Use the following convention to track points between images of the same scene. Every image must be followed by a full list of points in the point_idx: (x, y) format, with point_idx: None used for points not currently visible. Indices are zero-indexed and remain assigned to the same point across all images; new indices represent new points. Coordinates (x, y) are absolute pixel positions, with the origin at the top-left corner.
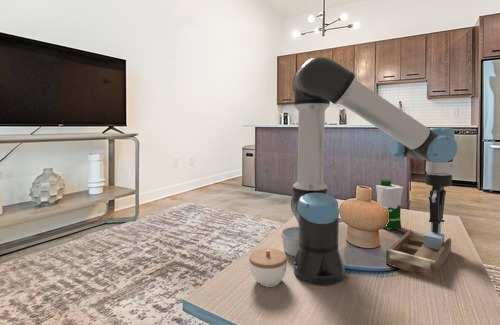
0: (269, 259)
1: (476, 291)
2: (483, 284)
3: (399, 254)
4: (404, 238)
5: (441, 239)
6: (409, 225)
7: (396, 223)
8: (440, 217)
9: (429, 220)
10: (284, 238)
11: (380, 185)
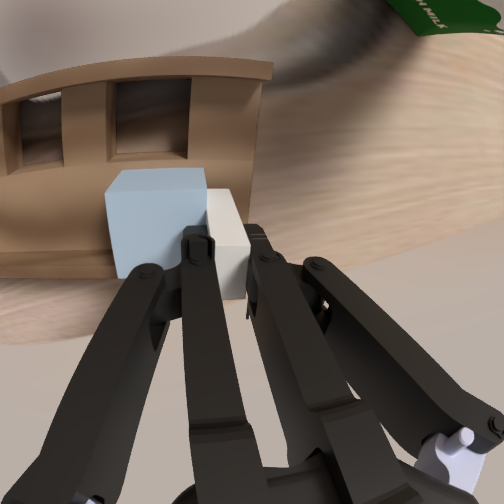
0: None
1: (19, 323)
2: (59, 332)
3: None
4: (90, 81)
5: (124, 275)
6: (456, 74)
7: (413, 10)
8: (253, 321)
9: (192, 246)
10: None
11: None
